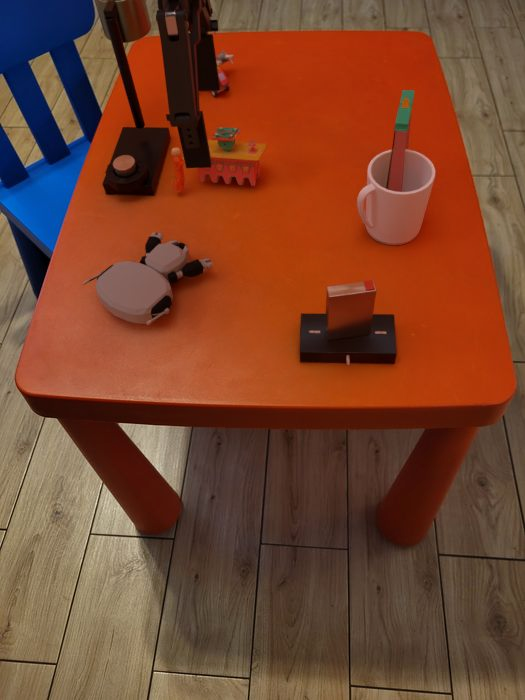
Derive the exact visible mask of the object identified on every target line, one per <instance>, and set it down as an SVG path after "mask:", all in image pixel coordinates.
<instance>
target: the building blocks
mask: <svg viewBox="0 0 525 700" xmlns="http://www.w3.org/2000/svg"><path fill="white" fill-rule="evenodd" d="M414 100H415V90H413V89H402V91H401V97H400V100H399V105H398V109H397V114H396V118H395V124H394V128H393V131H394V132H393V138H392V139H393V140H392V147H391V150H392V149H393V154H392V153H391V156H392V161H391V160H390V163H391V169H390V167H389V169H390V176H389V183H388V190H391V191H395V192H402V184H403V171H404V159H405V149H408V150H409V143H410V132H411V121H412V110H413V105H414ZM241 131H242V128H238V127H222V126H218V127H217V128H216V130H215V131H214V133H212V135H211V137H210V138H211V139H207V140H208V146H209V151H210V157H211V167H210V168H198V172H199V180H200V182H201V183H205V182H206V180H207V177H208V176H209V177H210V179H211V182H212V184H217V183H218V182H219V180H220V177H222V179H223V181H224V183H225V184H226V185H230V184H231V182H232V180H233V178H235V180H236V182H237V185H239V186H243V185H244V183H245V180H246V179H248V181H249V183H250V186H251V187H255V186H256V184H257V180H259V178H260V177H261V167H260V159H261V157H262V155H263V154H264V152H265V150H266V148H267V146H268V143H263V142H261V143H259V142H256V141H254V140H250V141H249V142H245V141H236V138H238V136H239V134H240V133H241ZM170 152H171V155H172V162H173V164H174V171H175V179H174V180H175V181H174V183H173V190H175V191H184V190H185V180H186V179H185V171H184V168H183V166H184V164H185V160H184V156H183V155H182V154H181V153H182V149H181V148H179V147H177V146H175V147H173V148H172V149H171V151H170ZM181 155H182V156H181ZM388 175H389V173H388ZM387 180H388V179H387Z"/></svg>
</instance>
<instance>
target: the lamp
mask: <svg viewBox="0 0 525 700" xmlns="http://www.w3.org/2000/svg"><path fill="white" fill-rule="evenodd" d="M94 3H95V7H96V11H97V14H98V17H99V20H100V25H101V28H102V31H103V34H104V37H105V38H106V39H107V40H108V41H110V43H111V46H112V50H113V53H114V57H115V60H116V64H117V67H118V70H119V74H120V78H121V81H122V84H123V88H124V91H125V95H126V98H127V101H128V106H129V109H130V112H131V115H132V119H133V123H134V127H136V128H139V129H140V128H143V127H146V123H145V119H144V115H143V111H142V108H141V104H140V100H139V97H138V93H137V89H136V86H135V83H134V78H133V74H132V71H131V68H130V64H129V60H128V57H127V52H126V49H125V45H124V44H126V43H127V44H128V43H133V42H137V41H138V40H141V39H143V38H145V37H147V35H149V33H150V32H151V30H152V22H151V17H150V14H149V10H148V4H147V0H94Z"/></svg>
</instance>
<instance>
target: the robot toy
mask: <svg viewBox="0 0 525 700" xmlns="http://www.w3.org/2000/svg"><path fill="white" fill-rule="evenodd" d="M163 238H164V234H163V233H162V232H157V231H153V232H152V233H151V234H150V236H148V239H147V240H146V242H145V245H144V246H145V247H144V250H145V255H143V256H141V258H140V260H139V262H137V261H131V260H123V261H117V262H115V263H114V264H111V265H109V267H107V268H105V269H103V270H102V271H100V273H98V274H96V275H95V276H92V277H90V278H89V279H86V280H84V281H83V282H82V283H81V285H83V286H86V285H87V284H89V283H90V282H92V281H94V280H96V282H95V285H94V287H95V291H96V294H97V296H98V299H99V301H100V303H101V304H102V306H103V307H104V308H105V309H106V310H107V311H109V313H110V314H111V315H113V316H115V317H117V318H118V319H119V318H120V319H122V320H124V321H127V322H129V323H133V324H145V325H147V326H149V325H151V324H152V323H153V322H155V321H157V320H159V319H160V318H162V317H163V316H164V315H168V314H169V313H170V310H171V308H172V306H173V299H174V296H173V295H174V294H173V292H172V287H171V285H173V284H176V283H178V282H179V279H180V278H182V277H185V278H191V279H194V278H196V277H199V276H201V275H204V270H210V269H212V267H213V266H214V265H213V264H214V263H213V262H212V260H211V258H208V257H205V258H203V259H201V260H199V258H196V259H194V260H192V261H191V259H190V253H189V247H188V245H187V244H186V243H185V242H179V240H176V239H175V240H173V239H172V240H169V241H167V242H162V240H163Z"/></svg>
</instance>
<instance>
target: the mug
mask: <svg viewBox="0 0 525 700" xmlns="http://www.w3.org/2000/svg"><path fill="white" fill-rule="evenodd" d="M391 153H392V154H393V149H392V148H391V149H388V150H384V151H382V152H380V153H378V154H377V155H375V156H374V157H373V158H372V159H371V160H370V162H369V164H368V165H367V173H366V185H365V186H363V188H362V189H361V190H360V191H359V193H358V195H357V198H356V207H357V212H358V215H359V217H360V220H361V222H362V223H363V224H364V226H365V231H366V232H367V233H368V235H369V236H370V237H371V238H372V239H373V240H374V241H376V242H378V243H379V244H383V245H387V246H401V245H405V244H408V243H409V242H411V241H413V240H415V239H416V237H417V236H418V235H419V233H420V231H421V228H422V225H423V221H424V218H425V213H426V210H427V207H428V204H429V200H430V197H431V193H432V189H433V185H434V183H435V179H436V168H435V165H434V164H433V162H432V161H431V160H430V159H429V158H428V157H427V156H426V155H425V154H423V153H421V152H418V151H416V150H413V149H412V150H411V149H409V148H408V149H405V159H404V171H403V184H402V192H395V191H391V190H388V183H389V176H390V169H391V163H390V160H391V161H392V156H391ZM389 167H390V169H389ZM388 173H389V175H388ZM387 179H388V180H387Z"/></svg>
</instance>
